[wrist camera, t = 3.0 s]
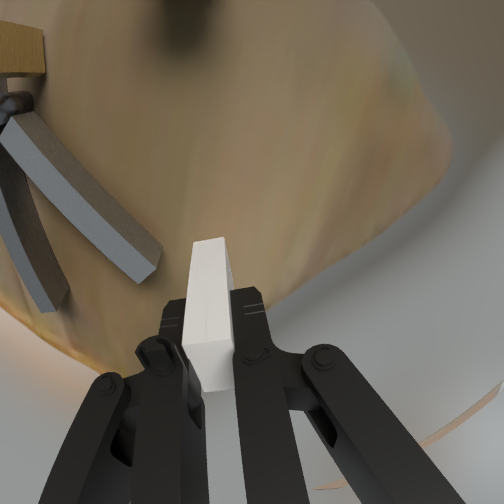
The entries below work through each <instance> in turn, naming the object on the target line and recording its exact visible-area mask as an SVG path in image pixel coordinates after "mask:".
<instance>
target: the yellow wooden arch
mask: <svg viewBox="0 0 504 504" xmlns="http://www.w3.org/2000/svg"><path fill="white" fill-rule="evenodd" d="M44 73H46V71H45V61H44V49H43V30H40V29H37V28H33V27H29V26H24V25H20V24H15V23H10V22H5V21H0V78H13V77H39V76H41V75H43V74H44Z"/></svg>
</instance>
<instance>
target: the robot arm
mask: <svg viewBox="0 0 504 504" xmlns="http://www.w3.org/2000/svg"><path fill="white" fill-rule="evenodd" d="M161 319H162V321H161V324H160V329H159V335H156V336H152V337H149V338H147V339H145V340H144V341H142V342H141V343H140V344H139V345H138V347H137V349H136V351H135V354H136V355H137V357H138V359H139V360H140V362H141V363H142V365H143V367H144V368H145V370H144V371H142V372H140V373H138V374H135V375H133V376H130V377H127V378H124V379H123V378H122V377H121V376H120V374H117V373H115V372H107V373H104V374H102V375H100V376H99V377H97V378H96V379H95V381H94V382H93V383H92V385H91V387H90V389H89V391H88V393H87V395H86V397H85V399H84V401H83V403H82V404H81V406H80V409H79V411H78V412H77V415H76V417H75V419H74V421H73V423H72V425H71V427H70V429H69V431H68V433H67V436H66V438H65V440H64V442H63V444H62V446H61V449H60V451H59V453H58V456H57V458H56V460H55V462H54V465H53V467H52V469H51V472H50V475H49V477H48V479H47V482H46V485H45V487H44V490H43V492H42V495H41V497H40V500H39V503H38V504H129V503H130V504H209V490H208V476H207V457H206V432H205V405H204V401H203V399H202V397H201V387H202V389H203V391H204V392H214V391H222V390H230V389H235V396H236V407H237V417H238V427H239V436H240V446H241V455H242V464H243V473H244V481H245V489H246V497H247V504H310V502H309V498H308V494H307V489H306V485H305V480H304V476H303V472H302V467H301V463H300V458H299V454H298V449H297V445H296V441H295V436H294V432H293V427H292V423H291V418H290V414H289V410H300V411H304V413H305V414H306V416H307V418H308V419H309V421H310V422H311V424H312V426H313V427H314V429H315V431H316V432H317V434H318V435H319V437H320V439H321V440H322V442H323V444H324V445H325V447H326V448H327V450H328V452H329V453H330V455H331V456H332V458H333V459H334V461H335V463H336V464H337V466H338V468H339V469H340V471H341V472H342V474H343V475H344V477H345V478H346V480H347V482H348V483H349V485H350V486H351V487H352V489H353V491H354V492H355V494H356V495H357V497H358V498H359V500H360V501H361V503H362V504H466V503H465V502H464V501H463V500H462V498H461V497H460V496H459V494H458V493H457V492H456V491H455V490H454V488H453V487H452V486H451V484H450V483H449V482H448V481H447V479H446V478H445V477H444V476H443V474H442V473H441V472H440V471H439V469H438V468H437V467H436V466H435V464H434V463H433V462H432V461H431V459H430V458H429V457H428V456H427V454H426V453H425V452H424V451H423V449H422V448H421V447H420V446H419V444H418V443H417V442H416V441H415V439H414V438H413V437H412V436H411V434H410V433H409V432H408V431H407V430H406V428H405V427H404V426H403V425H402V423H401V422H400V421H399V420H398V418H397V417H396V416H395V415H394V413H393V412H392V411H391V410H390V409H389V407H388V406H387V405H386V404H385V403H384V401H383V400H382V399H381V397H380V396H379V395H378V394H377V393H376V391H375V390H374V389H373V388H372V387H371V385H370V384H369V383H368V381H367V380H366V379H365V378H364V377H363V375H362V374H361V373H360V372H359V370H358V369H357V368H356V367H355V366H354V364H353V363H352V362H351V361H350V359H349V358H348V357H347V356H346V355H345V353H344V352H342V350H340V349H339V348H338V347H336V346H333V345H330V344H319V345H316V346H313V347H311V348H310V349H308V350H307V351H306V352H305V354H297V353H288V352H285V351H282V350H280V349H279V348H277V347H276V346H275V345H274V344H273V342H272V339H271V335H270V331H269V326H268V322H267V318H266V313H265V309H264V304H263V300H262V295H261V293H260V292H259V291H258V290H257V289H256V288H255V287H254V286H253V287H248V288H242V289H236V290H234V284H233V279H232V274H231V269H230V264H229V259H228V254H227V249H226V244H225V239H224V237H221V238H215V239H209V240H204V241H198V242H194V244H193V251H192V258H191V266H190V273H189V281H188V290H187V298H184V299H178V300H171V301H169V302H168V304H167V305H166V306H165V308H164V309H163V313H162V318H161ZM130 500H131V502H130Z"/></svg>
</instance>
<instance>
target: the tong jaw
mask: <svg viewBox="0 0 504 504" xmlns="http://www.w3.org/2000/svg"><path fill="white" fill-rule="evenodd" d="M0 142H1V143H2V145H3V146H4V147H5V149H6V150H7V151H8V152H9V154H10V155H11V156H12V157H13V159H14V160H15V161H16V162H17V163H18V165H19V166H20V167H21V168H22V169H23V171H24V172H25V173H26V174H27V175H28V176H29V178H30V179H31V180H32V181H33V182H34V183H35V184H36V186H37V187H38V188H39V189H40V190H41V191H42V192H43V193H44V194H45V196H46V197H47V198H48V199H49V200H50V201H51V202H52V203H53V204H54V205H55V206H56V207H57V208H58V209H59V210H60V211H61V213H62V214H63V215H64V216H65V217H66V218H67V219H68V220H69V221H70V222H71V223H72V224H73V225H74V226H75V227H76V228H77V229H78V230H79V231H80V232H81V233H82V234H83V235H84V236H85V237H87V238H88V239H89V240H90V241H91V242H92V243H93V244H94V245H95V246H96V247H97V248H98V249H99V250H100V251H101V252H102V253H103V254H105V255H106V256H107V257H108V258H109V259H110V260H111V261H112V262H113V263H114V264H116V265H117V266H118V267H119V268H120V269H121V270H122V271H123V272H125V273H126V274H127V275H128V276H129V277H130V278H132V279H133V280H134V281H135V282H136V283H137V284H139V283H140V282H142V281H143V280H144V279H145V278H146V277H147V276H149V275H150V274H151V273H152V272H153V271H154V270H156V269H157V266H158V262H159V259H160V256H161V252H162V249H163V246H162V245H161V244H160V243H159V242H158V241H157V240H156V239H155V238H154V237H153V236H152V235H151V234H149V233H148V232H147V231H146V230H145V229H144V228H143V227H142V226H141V225H140V224H139V223H138V222H137V221H136V220H135V219H134V218H133V217H132V216H131V215H130V214H129V213H128V212H127V211H126V210H125V209H124V208H123V207H122V206H121V205H120V204H119V203H118V202H117V201H116V200H115V199H114V198H113V197H112V196H111V195H110V194H109V193H108V192H107V191H106V190H105V189H104V188H103V187H102V186H101V185H100V183H99V182H98V181H97V180H96V179H95V178H94V177H93V176H92V175H91V174H90V173H89V172H88V171H87V170H86V169H85V168H84V167H83V165H82V164H81V163H80V162H79V161H78V160H77V159H76V158H75V157H74V156H73V155H72V154H71V152H70V151H69V150H68V149H67V148H66V147H65V146H64V145H63V144H62V142H61V141H60V140H59V139H58V138H57V137H56V136H55V134H54V133H53V132H52V131H51V130H50V129H49V128H48V126H47V125H46V124H45V123H44V122H43V121H42V119H41V118H40V117H39V116H38V115H37V114H36V112H35V111H33V112H28V113H23V114H19V115H14V116H11V118H10V119H9V121H8V123H7V125H6V126H5V128H4V130H3V132H2V133H1V135H0Z"/></svg>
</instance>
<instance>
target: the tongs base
mask: <svg viewBox="0 0 504 504" xmlns="http://www.w3.org/2000/svg"><path fill="white" fill-rule="evenodd" d="M32 107H33V97H32V95H31V93H30V92H28V91H18V92H8V90H7V81H6V78H0V135H1V133H2V132H3V130H4V128H5V126H6V125H7V123H8V121H9V119H10V118H11V116H14V115H19V114H23V113H28V112H31V110H32ZM0 233H1V236H2V238H3V241H4V243H5V245H6V247H7V250H8V252H9V254H10V256H11V258H12V260H13V262H14V264H15V267H16V269H17V270H18V272H19V274H20V276H21V278H22V280H23V282H24V284H25V286H26V288H27V289H28V291H29V293H30V295H31V296H32V298H33V300H34V302H35V303H36V305H37V307H38V308H39V310H40V312H41V313H45V312H54V311H57V309H58V307H59V306H60V304H61V302H62V300H63V298H64V297H65V295H66V293H67V291H68V290H69V288H70V286H69V284H68V282H67V280H66V278H65V276H64V274H63V272H62V270H61V268H60V266H59V264H58V262H57V260H56V257H55V255H54V253H53V251H52V249H51V246H50V244H49V242H48V239H47V237H46V234H45V232H44V229H43V227H42V224H41V222H40V219H39V216H38V214H37V211H36V208H35V205H34V203H33V200H32V197H31V194H30V190H29V187H28V184H27V181H26V178H25V174H24V171H23V169H22V168H21V167H20V166H19V165H18V163H17V162H16V161H15V160H14V159H13V157H12V156H11V155H10V154H9V152H8V151H7V150H6V149H5V147H4V146H3V145H2V143H1V142H0Z"/></svg>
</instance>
